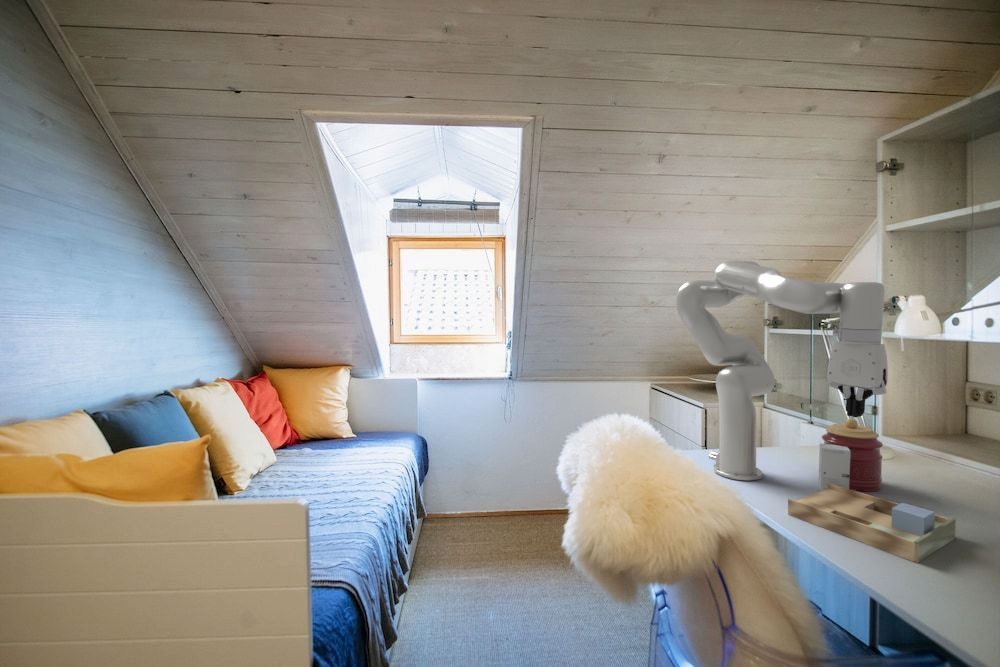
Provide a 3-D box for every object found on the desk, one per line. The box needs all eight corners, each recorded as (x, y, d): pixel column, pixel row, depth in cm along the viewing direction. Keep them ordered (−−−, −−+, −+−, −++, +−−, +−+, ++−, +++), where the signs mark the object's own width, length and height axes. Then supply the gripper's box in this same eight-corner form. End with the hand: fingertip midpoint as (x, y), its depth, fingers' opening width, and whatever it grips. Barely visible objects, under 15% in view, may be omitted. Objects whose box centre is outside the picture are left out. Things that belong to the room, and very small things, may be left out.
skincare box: (820, 493, 113) (820, 447, 112) (817, 487, 117) (818, 442, 116) (850, 498, 110) (851, 450, 109) (846, 491, 114) (847, 445, 113)
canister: (844, 471, 127) (845, 411, 127) (894, 489, 115) (896, 422, 114) (809, 477, 124) (810, 415, 123) (857, 495, 112) (858, 426, 111)
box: (787, 514, 102) (788, 497, 102) (828, 497, 110) (829, 482, 110) (917, 563, 82) (917, 542, 82) (955, 538, 90) (955, 519, 90)
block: (891, 527, 90) (891, 508, 90) (902, 521, 93) (902, 502, 92) (923, 537, 86) (924, 517, 86) (934, 531, 88) (934, 511, 88)
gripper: (814, 335, 105) (810, 410, 106) (892, 340, 91) (886, 426, 93) (832, 333, 108) (828, 406, 109) (909, 338, 94) (903, 422, 96)
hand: (854, 415), depth 101 cm, fingers closed
